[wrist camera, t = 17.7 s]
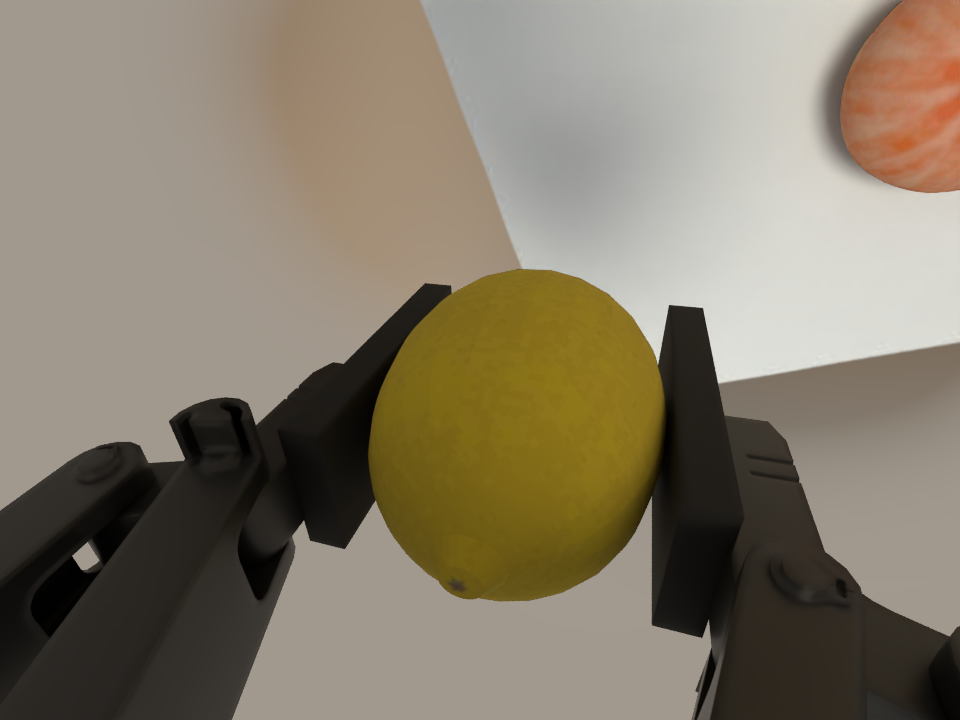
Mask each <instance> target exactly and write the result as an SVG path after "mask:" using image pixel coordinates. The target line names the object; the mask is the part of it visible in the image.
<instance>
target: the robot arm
mask: <svg viewBox="0 0 960 720" xmlns="http://www.w3.org/2000/svg"><path fill="white" fill-rule="evenodd" d="M451 294H452V293H451V286H448V285H437V284H427V283H425V284H424V285H423V286H422V287H421V288H420V289H419V290H418V291H417V292H416V293H415V294H414V295H413V296H412V297H411V298H410V299H409V300H408V301H407V302H406V303H405V304H404V305H403V306H402V307H401V308H400V309H399V310H398V311H397V312H396V313H395V314H394V315H393V316H392V317H391V318H390V319H389V320H388V321H387V322H386V323H384V325H383V326H381V328H380V329H378V331H376V332H375V333H374V334H373V335H372V336H371V337H370V338H369V339H368V340H367V342H365V343H364V344H363V345H362V346H361V347H360V348H359V349H358V350H357V351H356V352H355V353H354V354H353V355H352V356H351V357H350V358H349V359H348V360H347V361H346V362H345V363H344V364H341V363H331V364H329V365H327V366H325V367H323V368H321V369H319V370H317V371H315V372H313V373H312V374H311V375H310V376H309V377H308V378H307V379H306V380H305V381H303V382H302V383H301V384H300V385H299V388H296V389H295V390H294V391H293V392H292V393H291V394H289V395H288V398H287V399H284V400H283V401H282V402H281V403H280V404H279V405H278V406H277V407H275V408H274V409H273V410H272V411H271V412H270V413H269V414H268V415H267V416H266V417H265V418H264V419H263V420H261V422H259V423H258V424H257V425H255V421H254V419H253V416H252V412H251V409H250V407H249V405H248V403H246V402H244V401H242V400H240V399H236V398H227V397H226V398H217V399H210V400H207V401H204V402H200V403H197V404H194V405H192V406H191V407H188V408H186V409H184V410H182V411H181V412H179V413H178V414H177V415H176V416H174V417H173V418H172V419H171V420H170V421H169V423H170V425H171V427H172V430H173V432H174V434H175V437H176V439H177V441H178V443H179V446H180V448H181V450H182V452H183V455H184V457H185V460H184V461H176V462H160V463H148V461H147V459H146V457H145V455H144V453H143V451H142V449H141V447H140V446H139V445H137V444H134V443H132V442H115V443H109V444H104V445H100V446H97V447H96V448H93V449H91V450H88V451H86V452H83V453H82V454H80V455H78V456H77V457H75V458H73V459H72V460H70V461H68V462H67V463H66V464H64V465H63V466H62V467H60V468H59V469H57V470H56V471H55V472H53V473H52V474H51V475H49V476H48V477H46V478H45V479H43V480H42V481H41V482H39V483H38V484H37V485H35V486H34V487H32V488H31V489H30V490H28V491H27V492H26V493H24V494H23V495H21V496H20V497H19V498H17V499H16V500H15V501H13V502H12V503H10V504H9V505H7V506H6V507H5V508H3V509H2V510H1V511H0V720H232V718H233V715H234V713H235V710H236V707H237V705H238V702H239V700H240V697H241V694H242V692H243V689H244V686H245V684H246V681H247V679H248V676H249V673H250V671H251V668H252V666H253V663H254V660H255V658H256V655H257V653H258V650H259V647H260V645H261V642H262V639H263V637H264V634H265V632H266V629H267V626H268V624H269V621H270V619H271V616H272V613H273V611H274V608H275V606H276V603H277V600H278V598H279V595H280V592H281V590H282V587H283V585H284V582H285V579H286V577H287V574H288V572H289V569H290V566H291V564H292V561H293V558H294V553H295V545H294V541H293V538H292V535H293V534H294V533H295V531H296V530H297V529H298V527H299V526H300V525H301V523H302V522H303V521H305V525H306V528H307V531H308V535H309V538H310V541H314V542H319V543H322V544H327V545H330V546H335V547H338V548H342V549H345V548H346V547H347V545H348V543H349V542H350V540H351V538H352V537H353V535H354V534H355V532H356V531H357V529H358V527H359V526H360V524H361V522H362V521H363V519H364V518H365V516H366V515H367V513H368V511H369V510H370V508H371V506H372V505H373V503H374V502H375V500H376V499H375V496H374V493H373V488H372V482H371V476H370V471H369V461H368V449H369V440H370V433H371V425H372V418H373V413H374V409H375V405H376V401H377V398H378V395H379V392H380V389H381V387H382V384H383V382H384V380H385V378H386V375H387V373H388V371H389V370H390V368H391V366H392V364H393V362H394V360H395V358H396V356H397V354H398V352H399V350H400V349H401V347H402V345H403V343H404V342H405V340H406V338H407V337H408V336H409V334H410V333H411V331H412V330H413V329H414V328H415V327H416V326H417V325H418V324H419V323H420V322H421V321H422V320H423V319H424V318H425V317H426V316H427V315H428V314H429V313H430V312H431V311H432V310H433V309H434V308H435V307H436V306H437V305H438V304H439V303H440V302H441V301H443V300H444V299H445V298H446V297H447V296H449V295H451ZM658 368H659V372H660V375H661V379H662V383H663V387H664V391H665V395H666V403H667V419H666V434H665V448H664V456H663V462H662V467H661V471H660V474H659V478H658V481H657V484H656V486H655V489H654V492H653V494H652V625H653V626H657V627H661V628H665V629H669V630H673V631H677V632H681V633H685V634H689V635H693V636H697V637H701V638H702V637H703V634H704V631H705V628H706V625H707V623H708V620H709V625H710V633H711V645H712V648H711V651H710V653H709V656H708V659H707V661H706V664H705V667H704V669H703V672H702V675H701V677H700V680H699V683H698V686H697V688H696V692H698V696H697V700H696V705H695V708H694V713H693V717H692V720H960V626H959V627H957V628H956V629H955V631H954V632H953V633H952V634H951V636H950V637H949V636H947V635H945V634H942V633H940V632H937V631H935V630H933V629H931V628H929V627H926V626H924V625H922V624H919V623H918V622H915V621H913V620H911V619H909V618H906V617H904V616H902V615H899V614H897V613H895V612H893V611H891V610H889V609H887V608H885V607H883V606H881V605H879V604H877V603H876V602H873V601H872V600H871V599H869V598H868V597H866V596H865V595H863V594H862V592H861V588H860V586H859V585H858V583H857V582H856V581H855V580H854V578H853V577H852V576H851V574H850V573H849V572H848V570H847V569H846V568H845V567H844V566H842V565H841V564H840V563H839V562H837V561H836V560H835V559H834V558H832V557H831V556H830V555H829V554H827V553H826V552H825V551H824V548H823V545H822V542H821V539H820V536H819V533H818V531H817V528H816V525H815V522H814V520H813V516H812V513H811V510H810V508H809V505H808V502H807V499H806V496H805V493H804V490H803V487H802V485H801V483H799V476H798V473H797V471H796V467H795V466H794V465H793V459H792V456H791V453H790V450H789V447H788V444H787V442H786V440H785V439H784V438H783V437H782V436H781V435H780V434H779V433H778V432H777V431H776V430H775V429H774V427H773V426H772V425H771V424H770V423H769V422H766V421H760V420H753V419H746V418H737V417H731V416H724V412H723V407H722V402H721V397H720V392H719V387H718V382H717V377H716V372H715V367H714V362H713V357H712V352H711V347H710V342H709V337H708V332H707V327H706V321H705V316H704V311H703V308H696V307H685V306H674V305H669V309H668V314H667V320H666V325H665V331H664V336H663V342H662V347H661V352H660V358H659V363H658ZM87 542H88V543H89V545H90V546H91V548H92V549H93V551H94V552H95V554H96V555H97V557H98V559H99V560H100V561H99V562H98V563H97V564H95V565H94V566H92V567H91V568H89V569H88V570H81V569H80V567H79V566H78V564H77V563H76V561H75V560H74V559H73V557H72V555H73V554H75V553H76V552H77V551H78V550H79V549H80V548H81V547H82V546H83V545H85V544H86V543H87Z"/></svg>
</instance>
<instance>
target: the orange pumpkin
mask: <svg viewBox="0 0 960 720" xmlns="http://www.w3.org/2000/svg"><path fill="white" fill-rule="evenodd" d="M841 130H842V134H843V138H844V141H845V144H846V146H847V148H848V151H849V153H850V154H851V156H852V157H853V159H854V160H855V161H856V163H857V164H858V165H859V166H861V167H862V168H863V169H864V170H865V171H867V172H868V173H869V174H871V175H873V176H874V177H876V178H878V179H879V180H881V181H883V182H885V183H888V184H890V185H893V186H895V187H899V188H902V189H906V190H910V191H916V192H924V193H938V192H950V191H956V190H960V0H903V1H902V2H901V3H900V4H899V5H897V6H896V7H895V8H894V9H893V10H892V11H891V12H890V13H889V14H888V15H887V16H886V18H885V19H884V20H883V21H882V22H881V23H880V24H879V26H878V27H877V28H876V29H875V30H874V32H873V33H872V34H871V35H870V37H869V38H868V39H867V40H866V42H865V43H864V45H863V46H862V48H861V49H860V51H859V52H858V54H857V56H856V58H855V60H854V62H853V64H852V66H851V68H850V70H849V72H848V75H847V78H846V81H845V84H844V87H843V93H842V100H841Z"/></svg>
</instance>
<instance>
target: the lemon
mask: <svg viewBox="0 0 960 720" xmlns="http://www.w3.org/2000/svg"><path fill="white" fill-rule="evenodd" d="M666 419H667V403H666V395H665V391H664V387H663V383H662V379H661V375H660V372H659V368H658V364H657V360H656V357H655V354H654V352H653V350H652V348H651V346H650V344H649V343H648V341H647V340H646V338H645V336H644V335H643V333H642V331H641V330H640V328H639V327H638V325H637V323H636V322H635V320H634V319H633V317H632V316H631V315H630V314H629V313H628V312H627V311H626V310H625V309H624V308H623V307H621V306H620V305H619V304H618V303H617V302H616V301H615V300H614V299H613V298H612V297H611V296H610V295H609V294H607V293H606V292H604V291H602V290H600V289H598V288H597V287H595V286H593V285H591V284H589V283H588V282H586V281H584V280H582V279H581V278H577V277H574V276H570V275H566V274H563V273H559V272H556V271H552V270H530V269H516V270H511V271H507V272H503V273H497V274H493V275H488V276H485V277H482V278H480V279H478V280H477V281H475V282H473V283H471V284H469V285H467V286H465V287H463V288H461V289H460V290H457V291H456V292H454V293H452V294H451V295H449V296H447V297H446V298H445V299H444V300H443V301H441V302H440V303H439V304H438V305H437V306H436V307H435V308H434V309H433V310H432V311H431V312H430V313H429V314H428V315H427V316H426V317H425V318H424V319H423V320H422V321H421V322H420V323H419V324H418V325H417V326H416V327H415V328H414V329H413V330H412V331H411V333H410V334H409V336H408V337H407V338H406V340H405V342H404V343H403V345H402V347H401V349H400V350H399V352H398V354H397V356H396V358H395V360H394V362H393V364H392V366H391V368H390V370H389V371H388V373H387V375H386V378H385V380H384V382H383V384H382V387H381V389H380V392H379V395H378V398H377V401H376V405H375V409H374V413H373V418H372V425H371V433H370V440H369V449H368V461H369V471H370V476H371V482H372V488H373V493H374V496H375V499H376V502H377V505H378V507H379V510H380V512H381V514H382V516H383V518H384V520H385V522H386V525H387V527H388V528H389V530H390V532H391V533H392V535H393V537H394V538H395V539H396V541H397V542H398V543H399V544H400V546H401V547H402V549H403V550H404V551H405V552H406V554H407V555H409V557H410V558H411V559H412V560H413V561H414V562H415V563H416V564H418V565H419V566H420V567H421V568H422V569H423V570H424V571H425V572H426V573H427V574H429V575H430V576H432V577H433V578H435V579H436V580H438V581H439V583H440V584H441V585H442V587H443V588H444V589H445V590H447V591H448V592H449V593H451V594H453V595H455V596H457V597H460V598H463V599H476V598H481V599H488V600H494V601H530V600H534V599H539V598H543V597H547V596H551V595H555V594H558V593H562V592H564V591H566V590H568V589H570V588H572V587H574V586H576V585H578V584H580V583H582V582H584V581H586V580H588V579H589V578H591V577H593V576H595V575H596V574H598V573H599V572H600V571H601V570H602V569H603V568H604V567H605V566H607V564H609V563H610V562H611V560H613V558H614V557H615V556H616V555H617V554H618V553H619V552H620V551H621V550H622V549H623V548H624V547H625V546H626V545H627V543H628V542H629V540H630V539H631V538H632V536H633V535H634V533H635V531H636V529H637V527H638V525H639V523H640V521H641V519H642V517H643V515H644V512H645V509H646V508H647V505H648V503H649V501H650V499H651V496H652V494H653V492H654V489H655V486H656V484H657V481H658V478H659V474H660V471H661V467H662V462H663V456H664V448H665V434H666Z"/></svg>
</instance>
